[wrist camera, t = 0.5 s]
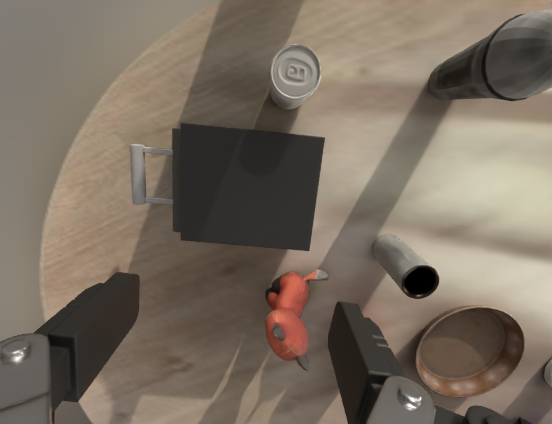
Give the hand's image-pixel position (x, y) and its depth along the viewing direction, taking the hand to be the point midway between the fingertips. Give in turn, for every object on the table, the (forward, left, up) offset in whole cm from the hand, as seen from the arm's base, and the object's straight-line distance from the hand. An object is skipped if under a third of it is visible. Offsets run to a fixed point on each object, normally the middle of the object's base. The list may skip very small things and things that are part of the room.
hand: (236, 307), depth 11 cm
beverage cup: (-16, +23, -30) cm, 41 cm away
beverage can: (-12, +2, -30) cm, 32 cm away
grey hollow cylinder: (+8, +20, -30) cm, 37 cm away
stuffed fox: (+16, +7, -30) cm, 35 cm away
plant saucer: (+24, +36, -30) cm, 53 cm away
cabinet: (-1, -1, -30) cm, 30 cm away
